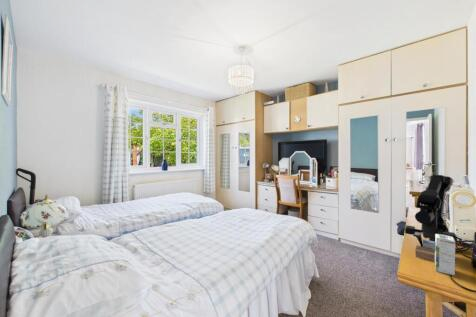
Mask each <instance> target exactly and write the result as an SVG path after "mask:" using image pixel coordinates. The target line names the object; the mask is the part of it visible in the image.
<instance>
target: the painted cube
mask: <svg viewBox="0 0 476 317" xmlns="http://www.w3.org/2000/svg"><path fill="white" fill-rule="evenodd" d="M422 243H423V247H427V248H431V249H435V242H434V241H429V239H428V240H427V239H422Z"/></svg>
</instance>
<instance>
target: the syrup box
mask: <svg viewBox="0 0 476 317" xmlns="http://www.w3.org/2000/svg"><path fill="white" fill-rule="evenodd" d="M434 267H435V271H436V272H439V273H441V274H447V275H451V276H456V242H455V240H454V238H453V237H451V236H447V235H441V234H435V262H434Z"/></svg>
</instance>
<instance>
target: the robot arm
mask: <svg viewBox="0 0 476 317" xmlns="http://www.w3.org/2000/svg"><path fill="white" fill-rule="evenodd" d="M453 185H454V179H453V178H452V177H450V176H446V175H442V174H431V175H430V176H429V183H428V185H427V187H426V189H425V190H422V191H421V193H420V194H419V195H418V197H417V201H416V206H415V208H417V209H419V211H418V212H416V213H415V214H414V218H415V221H417V222H418V223H419V224H421V229H419V228H416V226H414V225H413V226H412V225H405V228H404V233H405V234H407V235H413V237H414V238H416V239H417V241H418V243H419V246H422V247H423V238H424V239H428V240H429V241H434V242H435V234H441V235H447V236H451V237H453V238H454V240H455V243H458V236H457V233H455V232H451V231H449V228H448V226H447V223H446V221H445V220H444V216H443V215H444V208H445V202H446V201H445V200H446V193H447V192H449V191H450V190H451V187H452V186H453ZM422 237H423V238H422Z"/></svg>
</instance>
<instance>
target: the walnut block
mask: <svg viewBox="0 0 476 317" xmlns="http://www.w3.org/2000/svg"><path fill="white" fill-rule="evenodd" d="M418 257H419V258H418ZM415 258H418V259H422V258H423V260H426V261H430V262H434V263H435V249H431V248H427V247H422V246H421V245H416V248H415Z"/></svg>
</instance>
